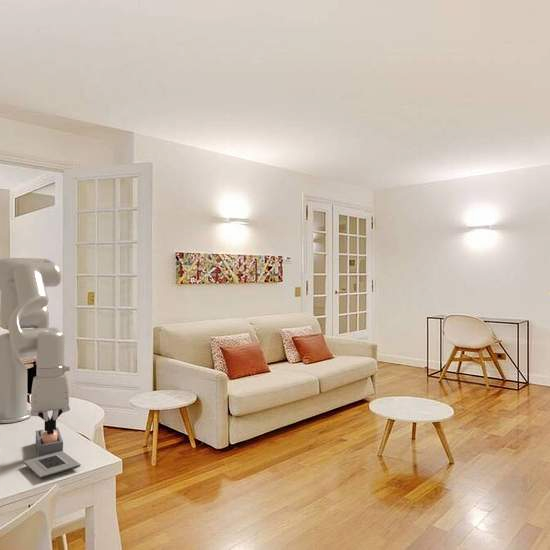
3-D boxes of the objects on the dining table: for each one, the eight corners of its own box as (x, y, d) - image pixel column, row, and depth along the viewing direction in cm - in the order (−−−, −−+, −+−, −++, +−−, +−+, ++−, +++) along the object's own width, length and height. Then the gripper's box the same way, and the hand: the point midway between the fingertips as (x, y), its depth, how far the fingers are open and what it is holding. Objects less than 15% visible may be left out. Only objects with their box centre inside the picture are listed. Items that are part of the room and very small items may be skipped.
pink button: (42, 444, 139) (42, 431, 138) (56, 442, 141) (56, 429, 141) (43, 449, 135) (43, 435, 135) (57, 446, 137) (58, 433, 137)
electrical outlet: (80, 471, 126) (80, 463, 126) (39, 484, 119) (40, 475, 119) (62, 457, 136) (62, 449, 136) (23, 468, 128) (23, 460, 128)
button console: (35, 443, 145) (35, 430, 145) (57, 439, 149) (57, 427, 148) (38, 459, 133) (38, 445, 133) (62, 455, 137) (62, 441, 136)
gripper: (75, 367, 145) (75, 425, 145) (21, 372, 137) (21, 433, 137) (79, 371, 138) (78, 432, 138) (22, 377, 130) (22, 441, 131)
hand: (50, 432), depth 138 cm, fingers closed
